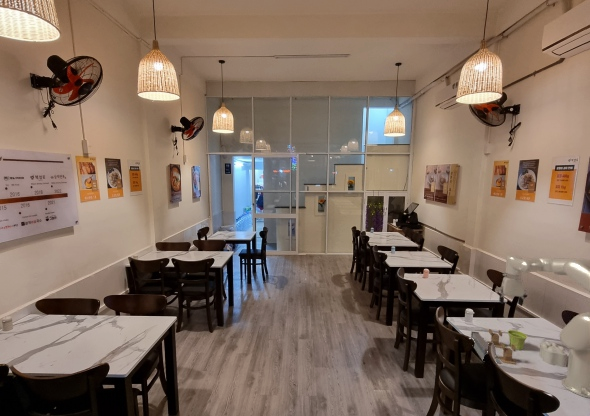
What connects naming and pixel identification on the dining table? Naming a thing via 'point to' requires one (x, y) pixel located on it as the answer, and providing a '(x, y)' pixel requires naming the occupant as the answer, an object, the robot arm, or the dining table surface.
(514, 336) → the plant pot
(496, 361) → the mat
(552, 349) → the lumpy-topped squat cylinder
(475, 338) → the rail
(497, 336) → the post far
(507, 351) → the post near
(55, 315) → the dining table surface
